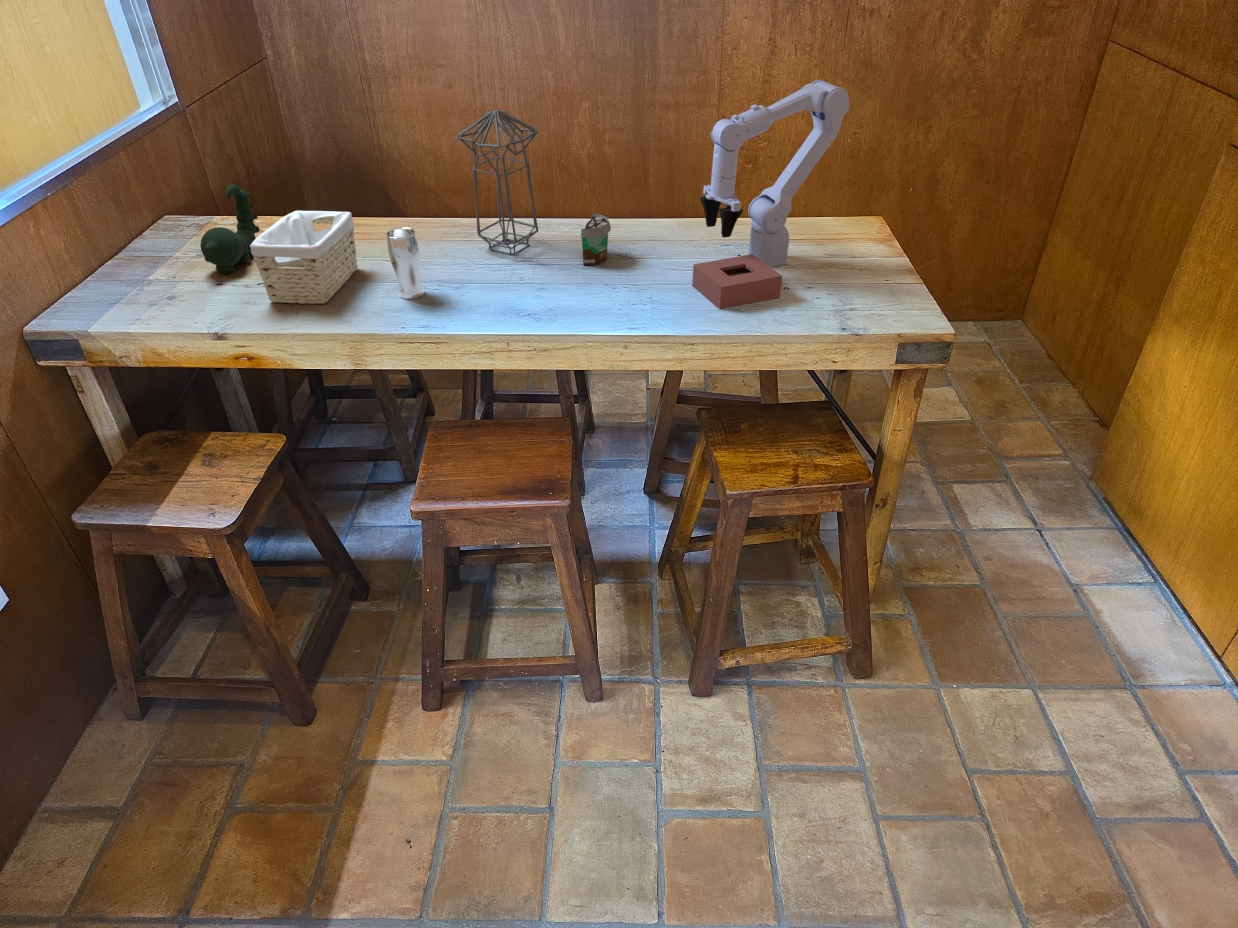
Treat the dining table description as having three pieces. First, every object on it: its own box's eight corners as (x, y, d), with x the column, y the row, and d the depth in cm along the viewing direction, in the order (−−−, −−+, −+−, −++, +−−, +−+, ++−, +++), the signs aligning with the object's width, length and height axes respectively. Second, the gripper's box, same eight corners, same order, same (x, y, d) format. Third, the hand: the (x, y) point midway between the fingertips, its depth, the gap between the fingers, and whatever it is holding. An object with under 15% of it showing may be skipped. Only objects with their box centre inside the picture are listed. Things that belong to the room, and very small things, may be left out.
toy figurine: (241, 252, 213) (195, 282, 192) (223, 179, 203) (171, 203, 182) (275, 252, 213) (232, 283, 192) (258, 180, 203) (211, 204, 182)
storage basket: (305, 265, 202) (290, 208, 193) (366, 267, 201) (354, 210, 192) (263, 306, 183) (245, 245, 174) (330, 308, 182) (315, 247, 173)
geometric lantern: (549, 244, 212) (540, 107, 190) (513, 265, 202) (499, 123, 180) (504, 232, 219) (490, 98, 197) (466, 252, 209) (448, 113, 187)
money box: (749, 275, 195) (751, 254, 192) (779, 297, 185) (782, 275, 182) (692, 285, 191) (693, 264, 187) (719, 309, 180) (721, 287, 177)
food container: (605, 269, 199) (605, 231, 193) (582, 268, 200) (580, 229, 194) (615, 251, 208) (615, 214, 202) (593, 249, 209) (592, 212, 203)
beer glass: (400, 302, 184) (389, 240, 175) (393, 291, 189) (381, 230, 180) (429, 296, 187) (419, 235, 177) (421, 285, 191) (411, 225, 182)
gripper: (694, 168, 189) (690, 223, 197) (724, 186, 178) (718, 243, 187) (719, 165, 191) (714, 220, 199) (751, 182, 181) (744, 239, 189)
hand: (718, 231), depth 193 cm, fingers open, 7 cm apart
